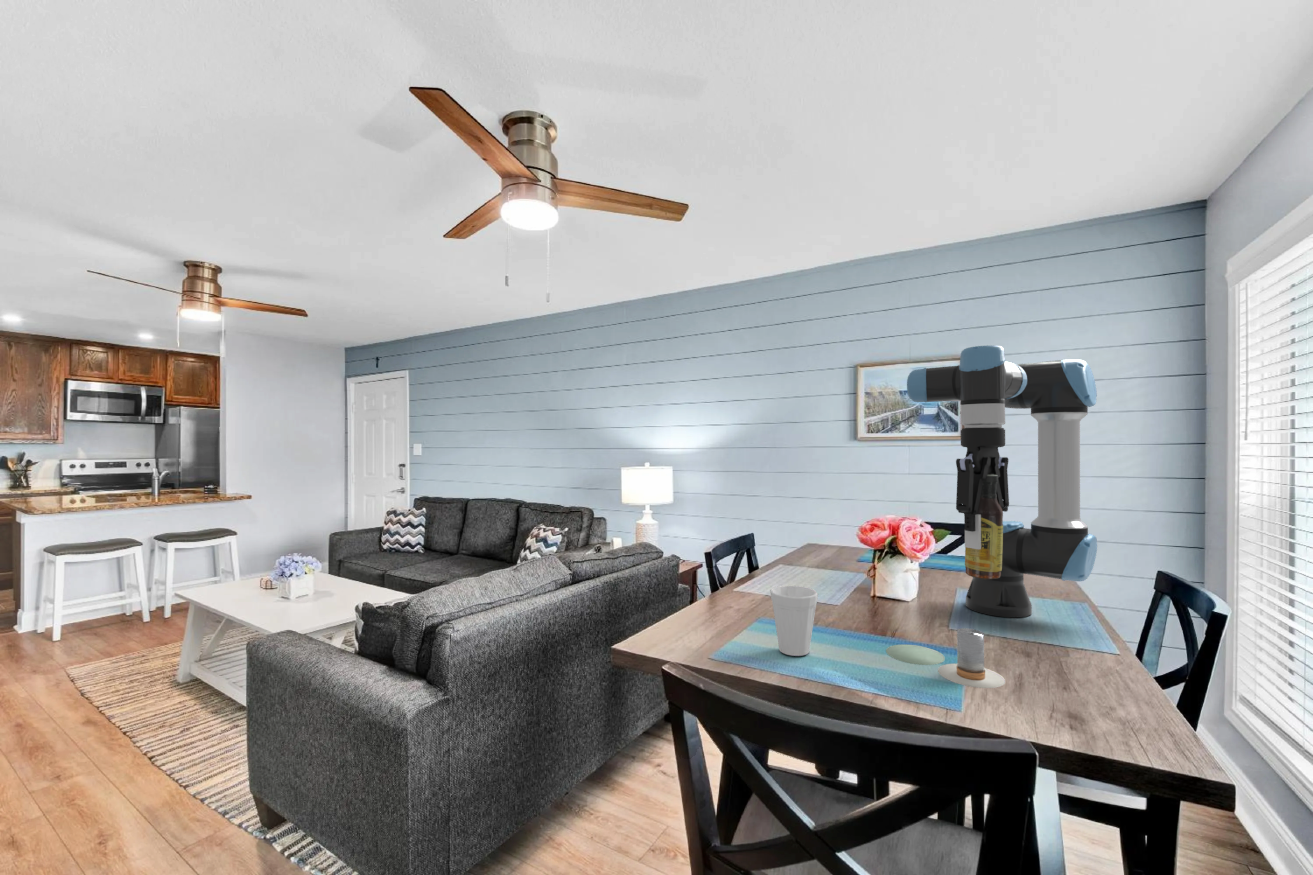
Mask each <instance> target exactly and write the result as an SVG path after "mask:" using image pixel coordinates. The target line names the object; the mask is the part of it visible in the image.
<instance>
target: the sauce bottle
mask: <svg viewBox="0 0 1313 875" xmlns="http://www.w3.org/2000/svg"><path fill="white" fill-rule="evenodd" d="M997 482H998V475H994V474H991V475H987V478H986V480H984V481H983V486H982V491H981V497H980V502H979V508H978V513H977V514H980V515H981V549H973V548H967V547H965V546H964V548H965V549H964V550H965V551H964V553H965V554H964V566H965V574H967V576H969V577H972V578H973V577H975V578H980V579H998V578H1000V576H1001V572H1000V571H1001V570H1002V549H1003V521H1004V520H1003V518H1004V513H1003V512H1004V511H1003V510H1002V508H1001V506H1000V505H999V503H998V501H997V494H996V490H997Z"/></svg>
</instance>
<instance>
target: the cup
mask: <svg viewBox="0 0 1313 875" xmlns="http://www.w3.org/2000/svg"><path fill="white" fill-rule="evenodd" d="M769 591H770V593H769V594H770V599H771V603H772V609H773V614H774V616H773V617H774V623H775V628H776V629H775V630H776V636H777V643H778V649H779V652H781V653H782V654H785V655H787V656H793V657H794V656H795V657H801V656H805V655H808V654H809V653H810V648H811V643H812V634H813V629H814V621H815V614H816V608H817V603H818V598H819V596H818V595H819V593H818V592H817V590H816V589H813V588H810V587H806V586H801V585H800V586H799V585H778V586H774V587H772V588H771V589H770V590H769Z"/></svg>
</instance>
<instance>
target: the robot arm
mask: <svg viewBox="0 0 1313 875" xmlns="http://www.w3.org/2000/svg"><path fill="white" fill-rule="evenodd" d="M906 390H907V395H908V397H909V399H911V401H912V402H915V403H933V402H935V403H936V402H960V412H959V414H960V424H961V426H963V427H964V428H963V427H962V428H961V429H960V446H961V447H963V448H966V454H965V457H963V458H956V459H955V465H956V470H957V475H956V476H957V478H956V502H955V503H956V505H955V509H956V511H958V513H959V514H963V515H964V516H963V517H964V519H963V520H964V548H965V547H967V548H973V549H981V515H980V514H977V513H978V508H979V502H980V497H981V491H982V486H983V481H984V480H986V478H987V475H991V474H994V475H998V482H997V490H996V494H997V501H998V503H999V505H1000V506H1001V508H1002V510H1003V512H1004V513H1006V512H1008V511H1009V506H1010V497H1009V476H1008V468H1009V458H1008V457H1007V456H1001V455H1000V453H999V448H1003V447H1005V446H1006V429H1005V428H1004V427H1002V426H1003V425H1005V424H1006V408H1007V409H1016V410H1017V409H1018V410H1019V409H1026V410H1027V409H1030V416H1031V417H1032V418H1033V419H1035V420H1036V421H1037V467H1038V468H1037V505H1038V506H1037V517H1036V518H1034V519H1033V520H1032V521H1031V522H1030V528H1027V527H1025V525H1024V523H1023V522H1022V521H1016V520H1014V521H1013V520H1011V521H1010V520H1009V521H1008V520H1006V521H1005V520H1003V549H1002V570H1001V571H1000V572H1001V576H1000V578H998V579H980V578H975V577H972V578H971V582H970V585H969V587H968V590H967V593H966V595H965V606H966V607H967V608H968V609H969V610H972V611H974V612H977V613H981V614H984V615H989V616H994V617H1003V618H1026V617H1029V616H1031V615H1032V614H1033V610H1032V609H1033V604H1032V602H1031V599H1030V597H1029V594H1028V591H1027V588H1026V586H1025V582H1024V575H1030V576H1036V577H1037V576H1038V577H1044V578H1049V579H1050V578H1051V579H1056V580H1062V581H1068V582H1084V581H1086V580H1087V579H1088V578H1089V577H1090V575H1091V574H1092V571H1093V570H1094V567H1095V566H1094V565H1095V562H1096V558H1097V551H1098V542H1097V537H1096V535H1094V534H1092V533H1089V527H1088V525H1087V524H1086V523H1085V522H1084V521H1083V520H1082V519H1081V421H1082V420H1083V419H1084V418H1085V417H1086V416H1088V411H1089V410H1088V409H1089V408H1090V407H1093V406H1096V404H1097V396H1098V395H1097V394H1098V393H1097V385H1096V380H1095V377H1094V373H1093V371H1092V368H1091V366H1090V364H1088V363H1087V361H1085V360H1083V359H1080V358H1079V359H1076V358H1075V359H1065V358H1064V359H1059V360H1058V359H1057V360H1049V361H1038V362H1027V363H1017V364H1016V363H1014V362H1013V361H1012V362H1011V361H1007V359H1006V357H1005V350H1004V347H1003V346H1001V345H991V344H990V345H988V344H987V345H977V346H976V345H975V346H971V347H966V348H964V349H962V350H961V353H960V358H959V364H958V365H949V366H938V367H937V366H935V367H923V368H919V369H913V370H912V371H911V372H910V373H909V375H908V376H907V379H906ZM1024 527H1025V528H1024Z"/></svg>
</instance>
